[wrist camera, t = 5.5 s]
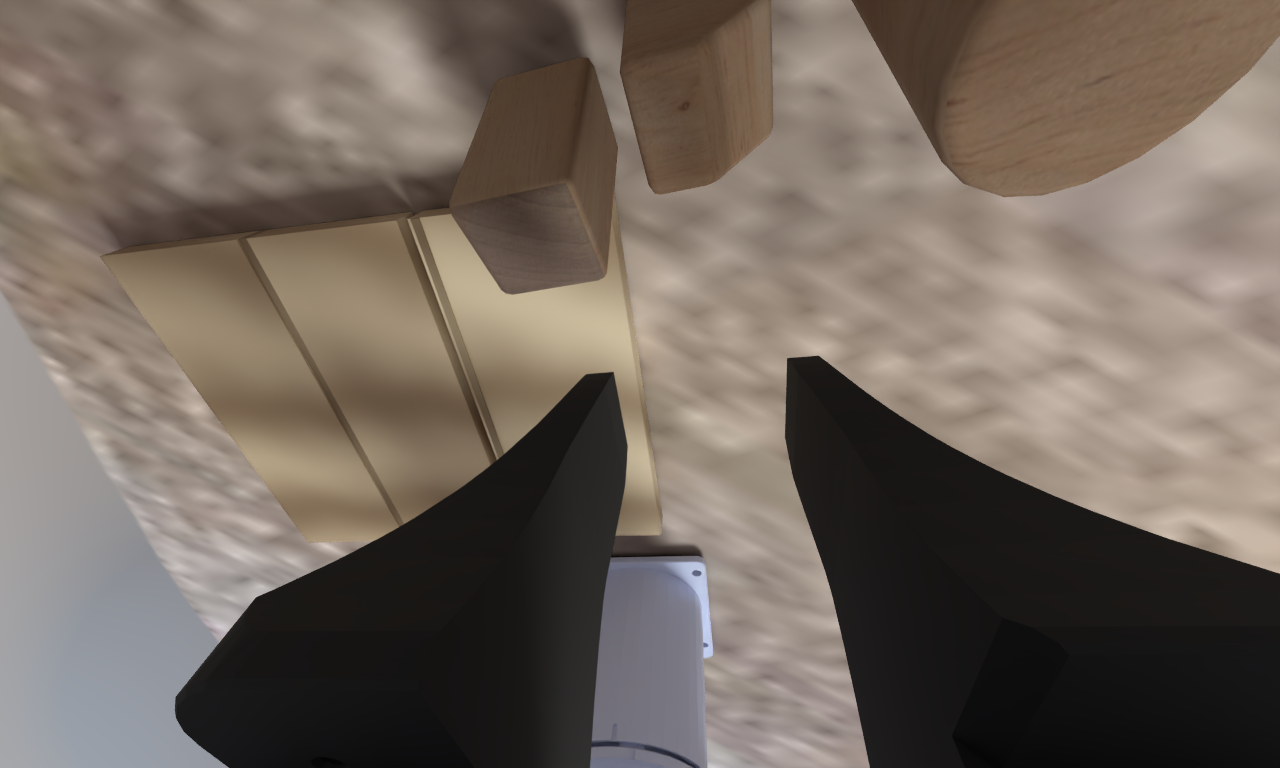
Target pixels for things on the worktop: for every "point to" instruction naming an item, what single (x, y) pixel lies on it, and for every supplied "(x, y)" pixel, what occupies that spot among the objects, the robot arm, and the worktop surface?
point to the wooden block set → (922, 65)
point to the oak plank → (542, 350)
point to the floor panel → (320, 365)
